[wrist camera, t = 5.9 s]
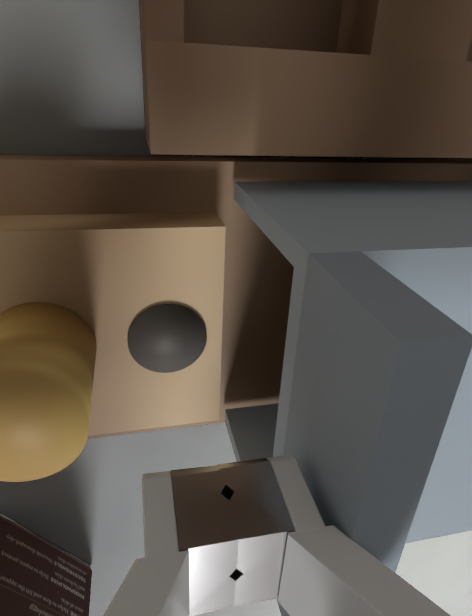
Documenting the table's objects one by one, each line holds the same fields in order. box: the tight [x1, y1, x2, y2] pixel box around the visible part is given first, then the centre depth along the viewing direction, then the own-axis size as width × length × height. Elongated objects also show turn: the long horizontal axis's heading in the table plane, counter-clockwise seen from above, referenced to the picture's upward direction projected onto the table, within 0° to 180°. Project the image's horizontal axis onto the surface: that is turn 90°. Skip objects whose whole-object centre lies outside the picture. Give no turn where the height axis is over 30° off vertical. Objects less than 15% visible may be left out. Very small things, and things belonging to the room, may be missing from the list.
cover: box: [225, 181, 472, 616], centre depth 12 cm, size 9×9×9 cm
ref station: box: [0, 155, 472, 482], centre depth 14 cm, size 24×10×6 cm, turn 87°
